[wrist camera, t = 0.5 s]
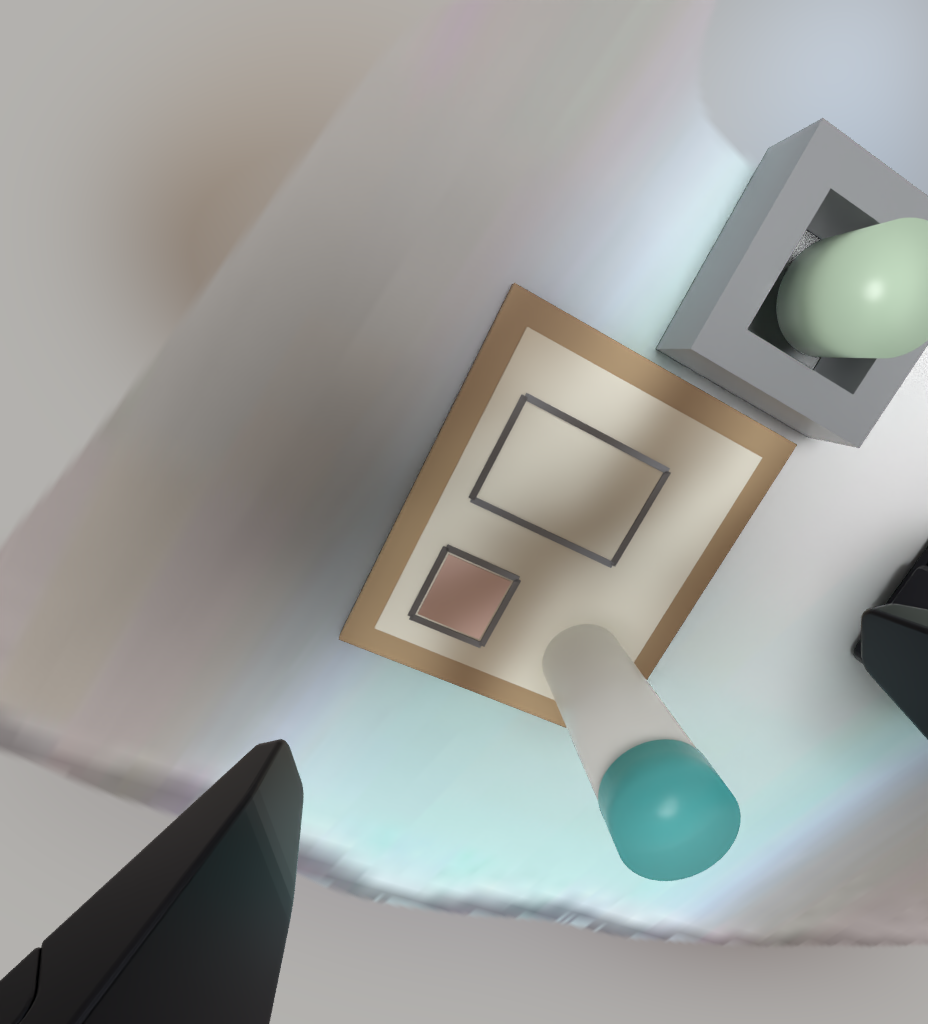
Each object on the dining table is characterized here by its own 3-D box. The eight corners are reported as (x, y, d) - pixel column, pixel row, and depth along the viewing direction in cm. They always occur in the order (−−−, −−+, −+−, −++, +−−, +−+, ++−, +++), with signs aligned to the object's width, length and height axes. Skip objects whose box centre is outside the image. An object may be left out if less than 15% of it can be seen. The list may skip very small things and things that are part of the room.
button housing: (922, 257, 20) (994, 244, 17) (807, 436, 21) (859, 448, 19) (768, 148, 18) (822, 118, 16) (655, 349, 20) (690, 348, 17)
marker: (637, 641, 22) (764, 800, 14) (596, 708, 23) (696, 894, 15) (567, 610, 22) (660, 759, 14) (526, 680, 22) (592, 860, 14)
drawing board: (790, 443, 21) (799, 445, 21) (603, 737, 24) (607, 745, 23) (512, 284, 19) (515, 282, 18) (339, 634, 21) (338, 641, 21)
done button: (906, 272, 18) (984, 260, 15) (840, 376, 19) (904, 381, 16) (820, 212, 17) (888, 190, 15) (755, 324, 18) (809, 319, 15)
